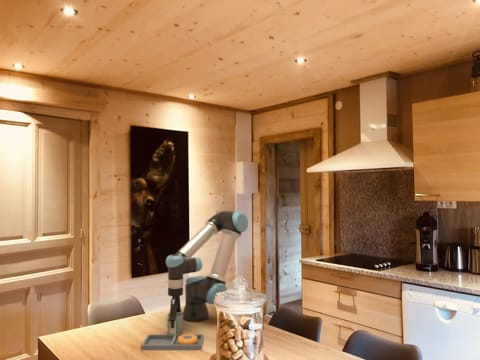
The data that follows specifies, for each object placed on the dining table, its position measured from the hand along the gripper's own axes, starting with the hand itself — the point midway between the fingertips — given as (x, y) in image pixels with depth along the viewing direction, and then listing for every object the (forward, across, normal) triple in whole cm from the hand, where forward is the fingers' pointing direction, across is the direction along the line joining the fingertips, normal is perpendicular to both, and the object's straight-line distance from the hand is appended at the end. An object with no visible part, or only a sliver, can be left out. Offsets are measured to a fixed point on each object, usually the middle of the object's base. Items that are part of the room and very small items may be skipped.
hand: (175, 329), depth 195 cm
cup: (+2, 0, 0) cm, 2 cm away
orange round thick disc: (+2, +14, +8) cm, 17 cm away
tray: (+2, +14, +2) cm, 15 cm away
